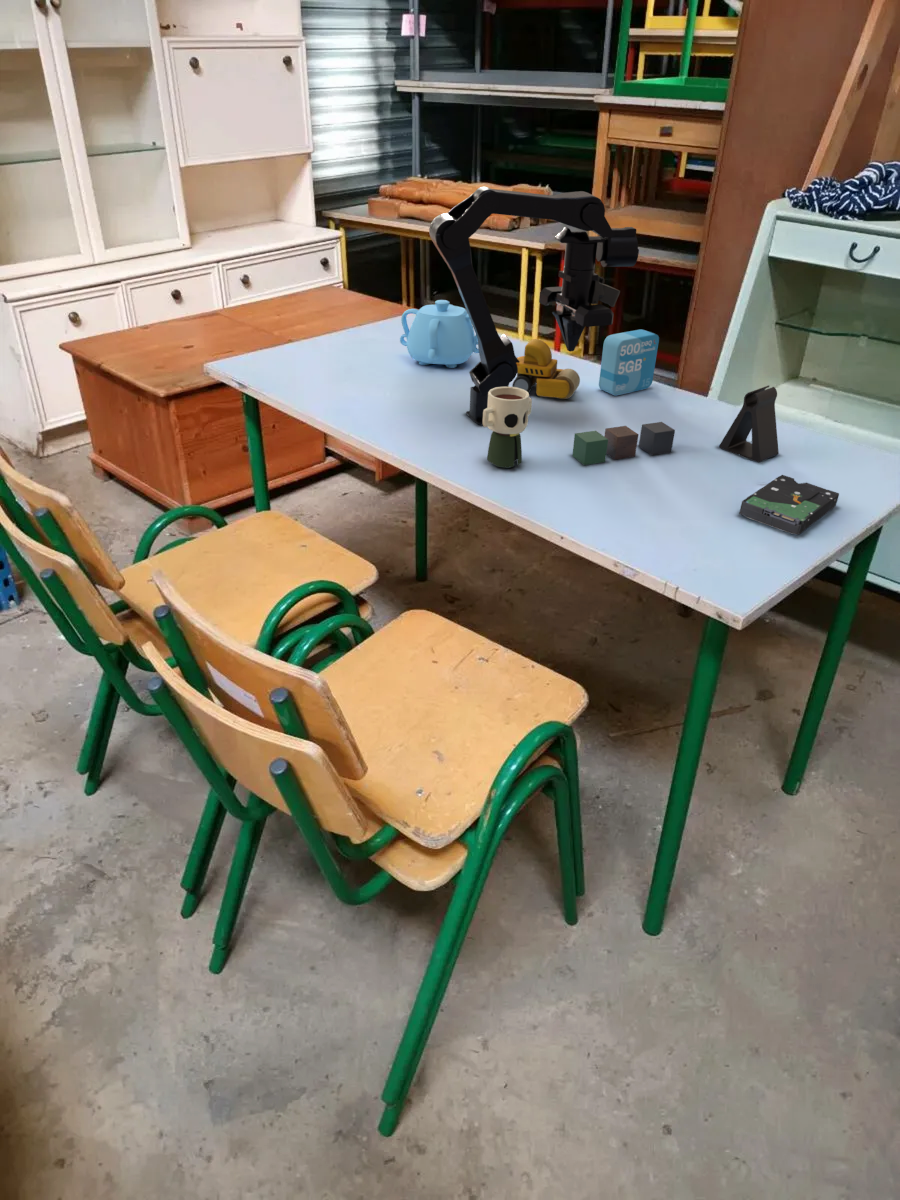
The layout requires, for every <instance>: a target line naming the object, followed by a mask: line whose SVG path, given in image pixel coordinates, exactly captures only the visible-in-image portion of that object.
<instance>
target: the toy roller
mask: <svg viewBox="0 0 900 1200" xmlns="http://www.w3.org/2000/svg"><path fill="white" fill-rule="evenodd" d="M552 357H553V353H552V350H551V347H550V346H549V345H548V344H547V342H545V341H543V340H541V339H537V338H534V339H531V340H529V341H528V343H527V344H526V345H525V346H524V355H521V356H518V357H516V358H517V359H518V360H519V363H516V364H517V368H518V373H517V374H516V376H515V378H514V379H513V381H512V387H517V388H521V389H524V390H525V391H527V392H528V393H530V391H531V390H532V388H533V387H534V386H535V394H536V395H537V396H538V397H545V398H555V399H559V400H567V399H569V398H571V397H572V396H573V395H574V394H575V392H576V391H577V389H578V388H579V386H580V384H581V378H580V375H579V373H578V372H577V371H576V370H574V369H573V368H558V359H556V358H552Z"/></svg>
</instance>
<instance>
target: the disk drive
mask: <svg viewBox="0 0 900 1200" xmlns="http://www.w3.org/2000/svg"><path fill="white" fill-rule="evenodd" d="M839 497H840V493H839V492H837V491H833V490H830V489H826V488H823V487H822V486H818V485H816V484H812V483H809V482H800V483H798V482H797V481H796V480H795V478H793V477H791V476H787V475H784V474H781V475H779V476H777V477H775V478H774V479H773V480H771V481H770V482H769V483H767V484H765V485H764V486H763V487H761V488H759V489H758V490H756V491H755V492H753V493H752V494H750V495H749V496H747V497H746V498H744V499H743V500H742V501H741V504H740V507H739V508H740V509H739V513H738V514H739V515H742V516H743V517H745V518H747V519H750V520H753V521H756V522H757V523H761V524H764V525H766V526H769V527H771V528H775V529H777V530H780V531H782V532H786V533H789V534H791V535H796V536H799V535H800V534H802V533H803V532H805V531H806V530H808V528H810V527H811V526H812V525H814V524H815V523H816V522H818V521H819V520H820V519H821V518H823V517H824V516H825V515H826V514H828V513H829V512H831V511H832V510H833V509H834V508H835V507H836V506H837V503H838V500H839Z"/></svg>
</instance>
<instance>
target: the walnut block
mask: <svg viewBox="0 0 900 1200" xmlns="http://www.w3.org/2000/svg"><path fill="white" fill-rule="evenodd" d="M603 436H604V437H606V438H607V439H608V445H607V452H606V455H608V456H609V457H610V458H612V459H613V460H614V461H616V460H621V459H629V458H635V457H636V453H637V448H638V442H639V433H638V432H636V431H635V430H634V429H631V427H628V426H627V425H621V426H614V427H613V426H612V427H606V428H605V429H604V435H603Z"/></svg>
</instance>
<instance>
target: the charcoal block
mask: <svg viewBox="0 0 900 1200" xmlns="http://www.w3.org/2000/svg"><path fill="white" fill-rule="evenodd" d="M675 433H676V429H674V428H673V427H671V426H669V425H668V424H666V423H665V422H663V421H658V422H657V421H656V422H650V423H643V424H641V428H640V434H639V439H638V447H639V448H640V449H641V450H643V451H644V452H646V453H647V454H648V455H650V456H656V455H663V454H669V453H672V449H673V445H674V440H675V435H676V434H675Z"/></svg>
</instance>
